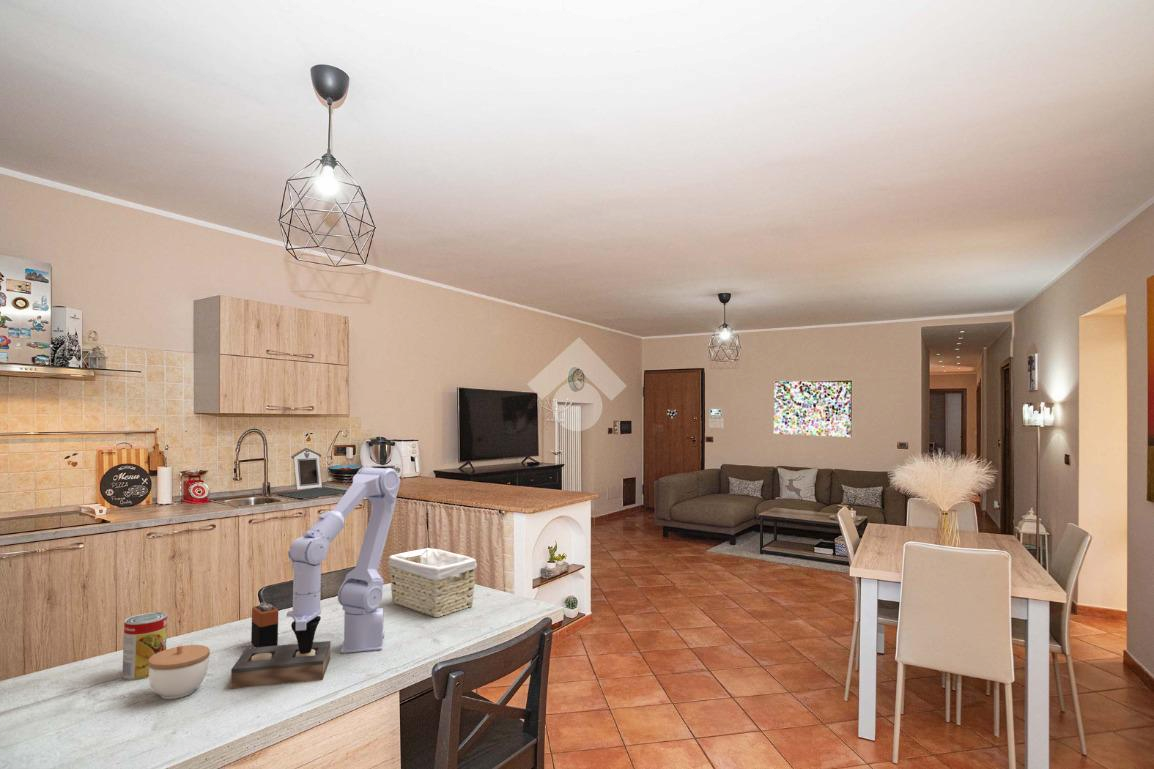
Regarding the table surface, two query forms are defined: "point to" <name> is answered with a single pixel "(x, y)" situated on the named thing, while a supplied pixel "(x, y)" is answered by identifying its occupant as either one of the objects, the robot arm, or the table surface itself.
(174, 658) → the lidded jar
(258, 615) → the battery
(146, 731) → the table surface
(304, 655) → the inner peg
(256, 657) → the outer peg
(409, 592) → the storage basket
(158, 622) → the canned food
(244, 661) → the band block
